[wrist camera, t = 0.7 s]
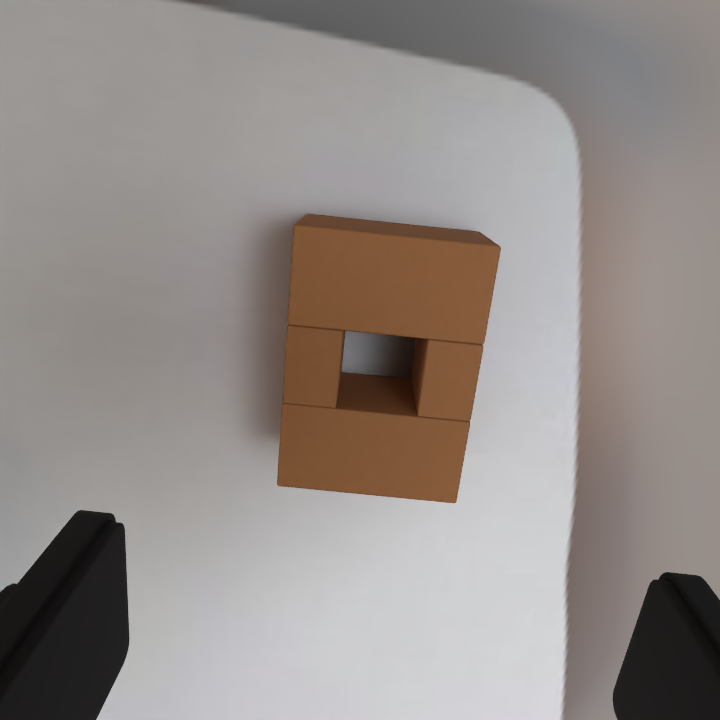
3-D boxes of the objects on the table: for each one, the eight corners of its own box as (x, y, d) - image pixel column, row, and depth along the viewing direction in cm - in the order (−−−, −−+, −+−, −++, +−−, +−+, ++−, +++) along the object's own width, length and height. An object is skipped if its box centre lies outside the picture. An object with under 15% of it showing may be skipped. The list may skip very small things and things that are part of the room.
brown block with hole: (305, 213, 24) (293, 224, 20) (480, 231, 24) (501, 246, 20) (290, 439, 27) (276, 486, 23) (444, 455, 27) (456, 504, 23)
